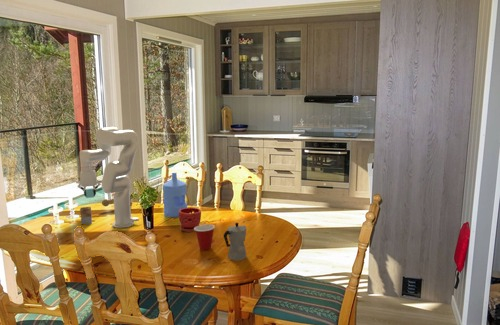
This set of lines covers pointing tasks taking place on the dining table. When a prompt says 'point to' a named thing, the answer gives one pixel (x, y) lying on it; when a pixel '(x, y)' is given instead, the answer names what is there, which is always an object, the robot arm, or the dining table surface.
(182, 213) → the plant pot
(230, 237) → the coffeepot
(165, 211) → the water jug
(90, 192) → the teal block
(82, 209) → the walnut block
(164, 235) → the dining table surface
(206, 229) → the plastic cup
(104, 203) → the toy helicopter
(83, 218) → the base block
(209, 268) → the dining table surface
